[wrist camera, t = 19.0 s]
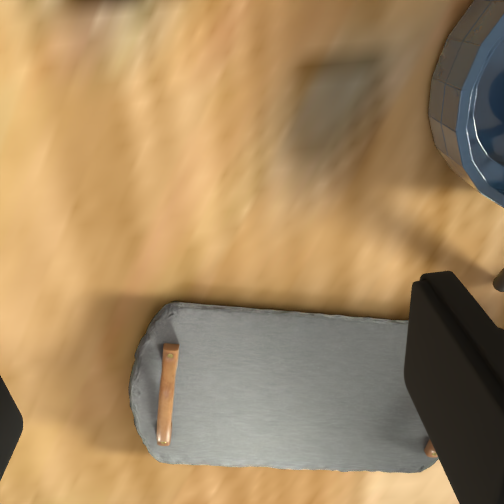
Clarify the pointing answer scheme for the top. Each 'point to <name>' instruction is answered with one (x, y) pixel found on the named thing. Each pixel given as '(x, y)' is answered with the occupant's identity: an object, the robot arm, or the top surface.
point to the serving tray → (276, 391)
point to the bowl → (472, 99)
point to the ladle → (499, 281)
